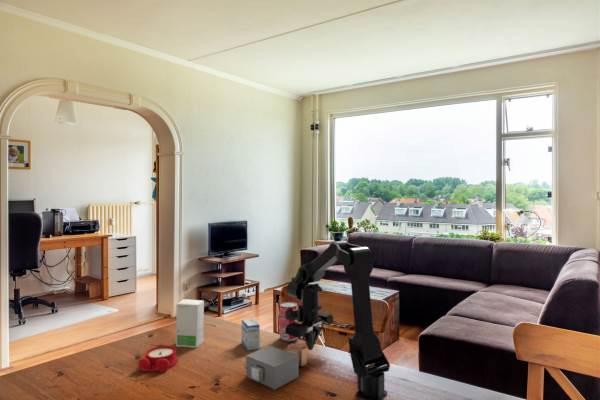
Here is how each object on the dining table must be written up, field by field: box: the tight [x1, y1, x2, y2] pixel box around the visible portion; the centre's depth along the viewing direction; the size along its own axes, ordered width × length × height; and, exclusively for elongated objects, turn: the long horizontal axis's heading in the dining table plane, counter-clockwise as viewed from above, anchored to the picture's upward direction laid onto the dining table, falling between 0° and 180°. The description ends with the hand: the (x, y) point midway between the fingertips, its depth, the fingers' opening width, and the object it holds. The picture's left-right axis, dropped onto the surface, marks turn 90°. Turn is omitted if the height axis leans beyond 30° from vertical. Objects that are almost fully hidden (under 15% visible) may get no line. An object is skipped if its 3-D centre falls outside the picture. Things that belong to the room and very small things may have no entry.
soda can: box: [278, 301, 300, 342], centre depth 152 cm, size 7×7×13 cm
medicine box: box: [241, 318, 261, 351], centre depth 145 cm, size 8×4×9 cm, turn 25°
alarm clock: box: [138, 345, 180, 373], centre depth 129 cm, size 10×6×15 cm
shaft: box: [251, 342, 308, 382], centre depth 123 cm, size 6×19×5 cm, turn 139°
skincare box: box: [175, 298, 205, 349], centre depth 147 cm, size 8×7×16 cm
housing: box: [245, 345, 300, 390], centre depth 121 cm, size 12×10×6 cm
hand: (310, 349), depth 135 cm, fingers closed
